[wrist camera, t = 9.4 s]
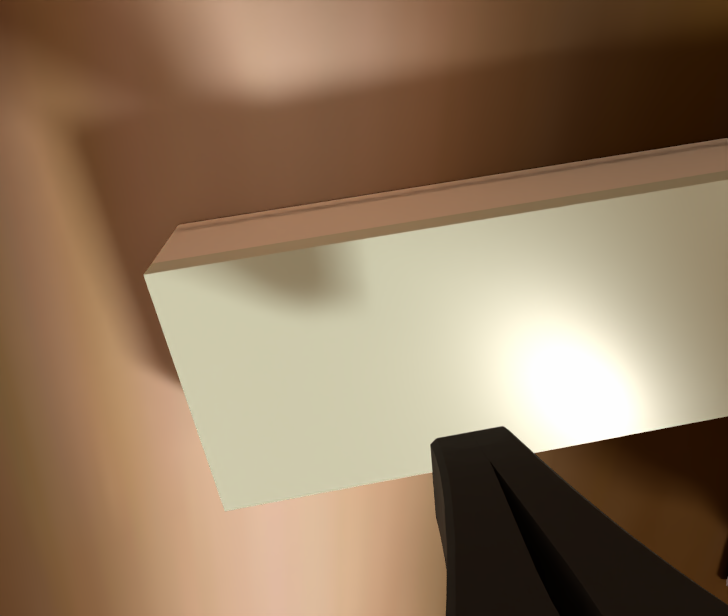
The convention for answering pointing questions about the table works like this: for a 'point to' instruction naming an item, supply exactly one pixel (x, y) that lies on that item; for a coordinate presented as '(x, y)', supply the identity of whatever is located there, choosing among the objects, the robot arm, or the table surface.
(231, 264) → the duct lid
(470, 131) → the table surface
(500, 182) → the cable duct
